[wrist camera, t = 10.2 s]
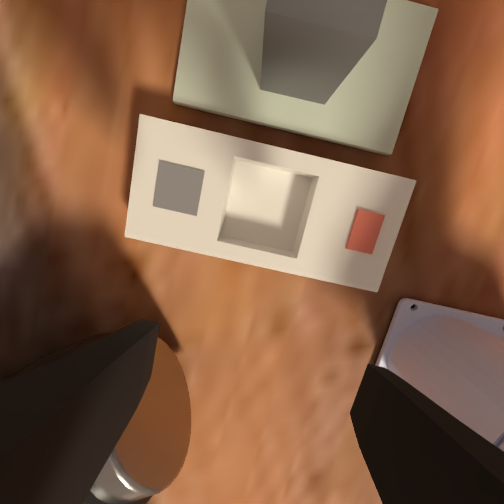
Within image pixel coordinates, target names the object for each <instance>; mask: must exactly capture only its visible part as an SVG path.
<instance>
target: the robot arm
mask: <svg viewBox="0 0 504 504" xmlns="http://www.w3.org/2000/svg"><path fill="white" fill-rule="evenodd" d="M413 304H415V306H414V308H412V309H411V306H412V305H413ZM159 326H160V323H158V322H153V321H148V320H143V319H141V320H139V321H137V322H135V323H133V324H131V325H129V326H127V327H125V328H123V329H121V330H119V331H117V332H115V333H113V334H111V335H109V336H107V337H105V338H103V339H101V340H99V341H97V342H95V343H93V344H91V345H89V346H87V347H85V348H83V349H81V350H78V351H76V352H74V353H72V354H70V355H67V356H65V357H63V358H61V359H58V360H56V361H54V362H52V363H49V364H47V365H45V366H42V367H40V368H37V369H35V370H32V371H30V372H27V373H25V374H22V375H19V376H16V377H14V378H11V379H8V380H5V381H3V382H0V504H83V503H84V501H85V499H86V497H87V495H88V493H89V491H90V490H91V488H92V486H93V484H94V482H95V481H96V479H97V477H98V475H99V474H100V472H101V470H102V469H103V467H104V465H105V463H106V462H107V460H108V458H109V456H110V455H111V453H112V451H113V449H114V448H115V446H116V444H117V443H118V441H119V439H120V437H121V436H122V434H123V432H124V430H125V429H126V427H127V425H128V423H129V422H130V420H131V418H132V416H133V415H134V413H135V411H136V409H137V407H138V405H139V403H140V401H141V399H142V397H143V394H144V392H145V390H146V387H147V385H148V383H149V380H150V378H151V375H152V369H153V363H154V357H155V351H156V345H157V338H158V332H159ZM503 326H504V319H500V318H496V317H491V316H487V315H482V314H478V313H473V312H469V311H464V310H460V309H455V308H450V307H446V306H441V305H437V304H432V303H428V302H423V301H419V300H414V299H410V298H403V299H401V300H400V301H399V303H398V305H397V308H396V311H395V313H394V316H393V319H392V321H391V324H390V327H389V329H388V332H387V335H386V337H385V340H384V343H383V346H382V348H381V351H380V354H379V356H378V359H377V362H376V364H375V365H370V364H368V365H367V368H366V370H365V373H364V376H363V379H362V381H361V384H360V387H359V389H358V392H357V395H356V398H355V400H354V403H353V406H352V409H351V411H350V415H351V419H352V423H353V427H354V431H355V434H356V437H357V441H358V444H359V447H360V449H361V452H362V455H363V457H364V459H365V462H366V464H367V467H368V469H369V472H370V474H371V477H372V479H373V481H374V484H375V486H376V489H377V491H378V493H379V496H380V498H381V501H382V503H383V504H504V327H503Z"/></svg>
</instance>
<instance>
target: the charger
mask: <svg viewBox="0 0 504 504" xmlns="http://www.w3.org/2000/svg"><path fill="white" fill-rule="evenodd" d="M386 3H387V0H267V3H266V8H265V19H264V36H263V53H262V70H261V87H260V90H264V91H268V92H272V93H276V94H281V95H285V96H289V97H294V98H298V99H302V100H306V101H311V102H315V103H319V104H324V105H325V104H326V102H327V101H328V100H329V98H330V97H331V96H332V95H333V93H334V92H335V91H336V90H337V88H338V87H339V86H340V84H341V83H342V82H343V81H344V79H345V78H346V77H347V76H348V74H349V73H350V72H351V71H352V69H353V68H354V67H355V65H356V64H357V63H358V62H359V60H360V59H361V58H362V57H363V55H364V54H365V53H366V52H367V50H368V49H369V48H370V46H371V45H372V44H373V43H374V41H375V40H376V39H377V36H378V32H379V29H380V25H381V21H382V18H383V14H384V10H385V7H386Z"/></svg>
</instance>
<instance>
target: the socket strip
mask: <svg viewBox="0 0 504 504" xmlns="http://www.w3.org/2000/svg"><path fill="white" fill-rule="evenodd" d="M416 181H417V180H413V179H409V178H405V177H400V176H396V175H392V174H388V173H384V172H380V171H375V170H371V169H367V168H363V167H359V166H355V165H350V164H346V163H342V162H338V161H334V160H330V159H326V158H321V157H317V156H313V155H309V154H305V153H301V152H296V151H292V150H288V149H284V148H280V147H276V146H271V145H267V144H263V143H259V142H255V141H251V140H247V139H242V138H238V137H234V136H230V135H226V134H222V133H217V132H213V131H209V130H205V129H201V128H197V127H192V126H188V125H184V124H180V123H176V122H172V121H168V120H163V119H159V118H155V117H151V116H147V115H143V114H140V116H139V124H138V132H137V140H136V148H135V156H134V164H133V173H132V181H131V189H130V197H129V205H128V213H127V221H126V229H125V237H128V238H132V239H137V240H141V241H146V242H151V243H155V244H160V245H164V246H169V247H173V248H178V249H182V250H187V251H191V252H196V253H200V254H205V255H209V256H214V257H218V258H223V259H227V260H232V261H236V262H241V263H245V264H250V265H254V266H259V267H264V268H268V269H273V270H277V271H282V272H286V273H291V274H295V275H300V276H304V277H309V278H313V279H318V280H322V281H327V282H331V283H336V284H340V285H345V286H349V287H354V288H358V289H363V290H368V291H372V292H378V290H379V287H380V284H381V281H382V278H383V275H384V272H385V270H386V267H387V264H388V261H389V258H390V255H391V252H392V249H393V247H394V244H395V241H396V238H397V235H398V232H399V229H400V227H401V224H402V221H403V218H404V215H405V212H406V209H407V207H408V204H409V201H410V198H411V195H412V192H413V189H414V187H415V184H416Z"/></svg>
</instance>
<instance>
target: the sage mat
mask: <svg viewBox="0 0 504 504" xmlns="http://www.w3.org/2000/svg"><path fill="white" fill-rule="evenodd" d="M266 3H267V0H187V6H186V12H185V19H184V26H183V33H182V40H181V46H180V53H179V60H178V67H177V74H176V80H175V87H174V94H173V102H174V103H175V104H177V105H181V106H185V107H189V108H193V109H197V110H202V111H206V112H210V113H214V114H218V115H222V116H226V117H230V118H234V119H239V120H243V121H247V122H251V123H255V124H259V125H263V126H267V127H271V128H276V129H280V130H284V131H288V132H292V133H296V134H300V135H304V136H308V137H313V138H317V139H321V140H325V141H329V142H333V143H337V144H341V145H345V146H350V147H354V148H358V149H362V150H366V151H370V152H374V153H378V154H382V155H387V156H388V155H391V154H392V152H393V149H394V146H395V143H396V140H397V137H398V134H399V131H400V127H401V124H402V121H403V118H404V115H405V112H406V109H407V106H408V103H409V100H410V96H411V93H412V90H413V87H414V84H415V81H416V78H417V75H418V72H419V69H420V66H421V62H422V59H423V56H424V53H425V50H426V47H427V44H428V41H429V38H430V35H431V31H432V28H433V25H434V22H435V19H436V16H437V13H438V10H439V9H438V8H434V7H430V6H427V5H423V4H419V3H416V2H412V1H408V0H387V3H386V7H385V10H384V14H383V18H382V21H381V25H380V29H379V32H378V36H377V39H376V40H375V41H374V43H373V44H372V45H371V46H370V48H369V49H368V50H367V52H366V53H365V54H364V55H363V57H362V58H361V59H360V60H359V62H358V63H357V64H356V65H355V67H354V68H353V69H352V71H351V72H350V73H349V74H348V76H347V77H346V78H345V79H344V81H343V82H342V83H341V84H340V86H339V87H338V88H337V90H336V91H335V92H334V93H333V95H332V96H331V97H330V98H329V100H328V101H327V102H326V104H325V105H324V104H319V103H315V102H311V101H306V100H302V99H298V98H294V97H289V96H285V95H281V94H276V93H272V92H268V91H264V90H260V87H261V70H262V53H263V36H264V19H265V8H266Z"/></svg>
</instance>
